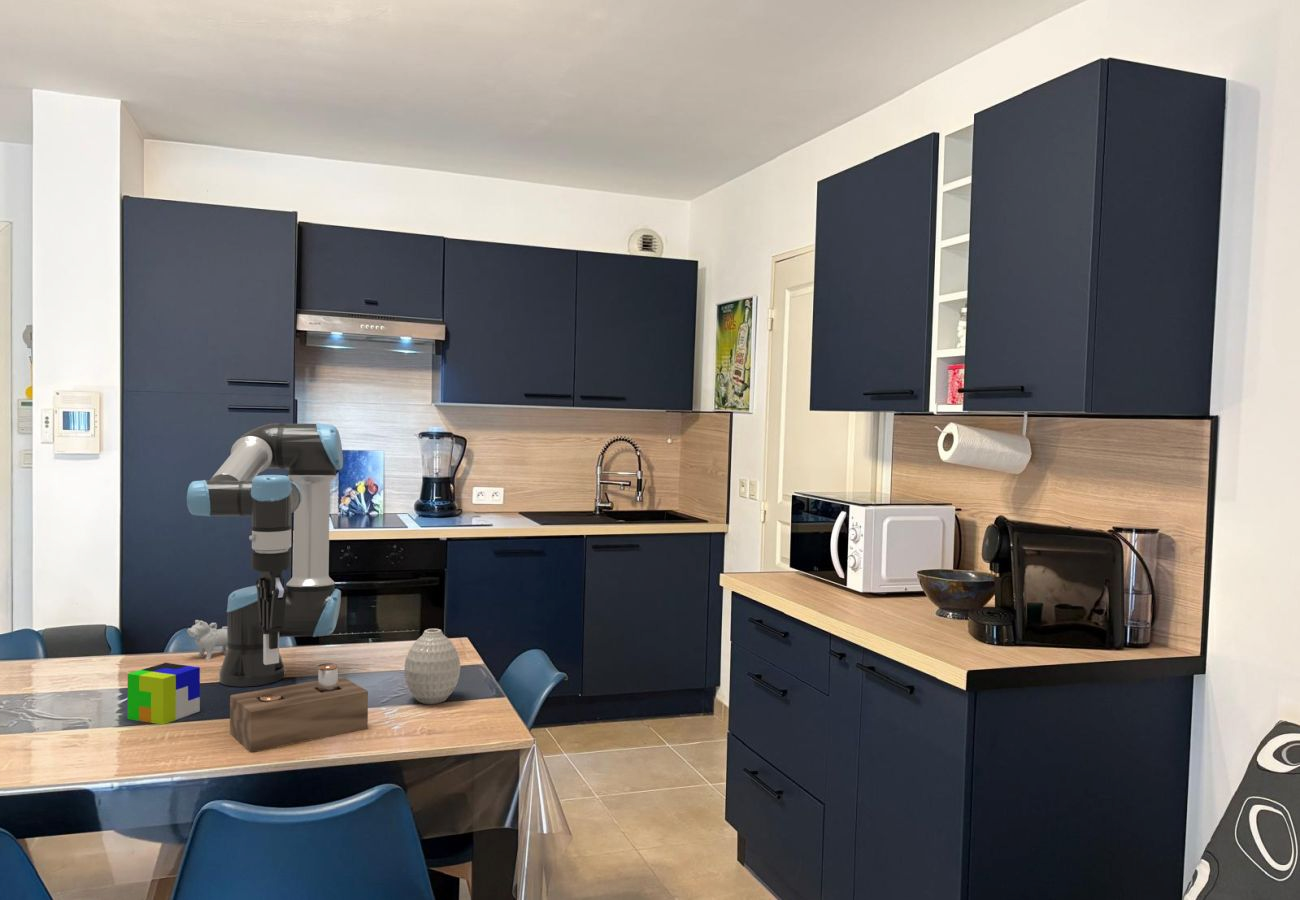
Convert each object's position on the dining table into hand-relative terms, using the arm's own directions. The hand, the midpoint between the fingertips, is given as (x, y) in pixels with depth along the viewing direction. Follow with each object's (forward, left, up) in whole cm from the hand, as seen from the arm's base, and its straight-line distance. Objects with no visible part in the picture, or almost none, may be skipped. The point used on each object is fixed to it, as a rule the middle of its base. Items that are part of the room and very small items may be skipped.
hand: (271, 662), depth 192 cm
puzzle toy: (-28, -14, -16) cm, 35 cm away
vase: (-3, +38, -16) cm, 41 cm away
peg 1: (0, 0, -14) cm, 14 cm away
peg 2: (0, +12, -10) cm, 15 cm away
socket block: (0, +6, -15) cm, 16 cm away
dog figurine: (-75, +8, -16) cm, 77 cm away
